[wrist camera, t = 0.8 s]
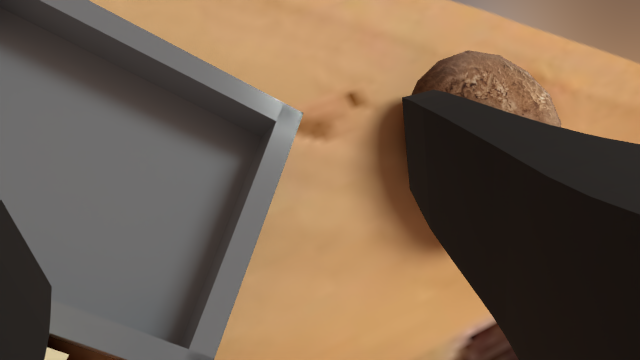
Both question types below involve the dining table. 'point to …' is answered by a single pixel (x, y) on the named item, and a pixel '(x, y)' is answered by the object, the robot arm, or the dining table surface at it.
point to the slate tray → (132, 177)
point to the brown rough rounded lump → (491, 85)
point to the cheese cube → (55, 355)
